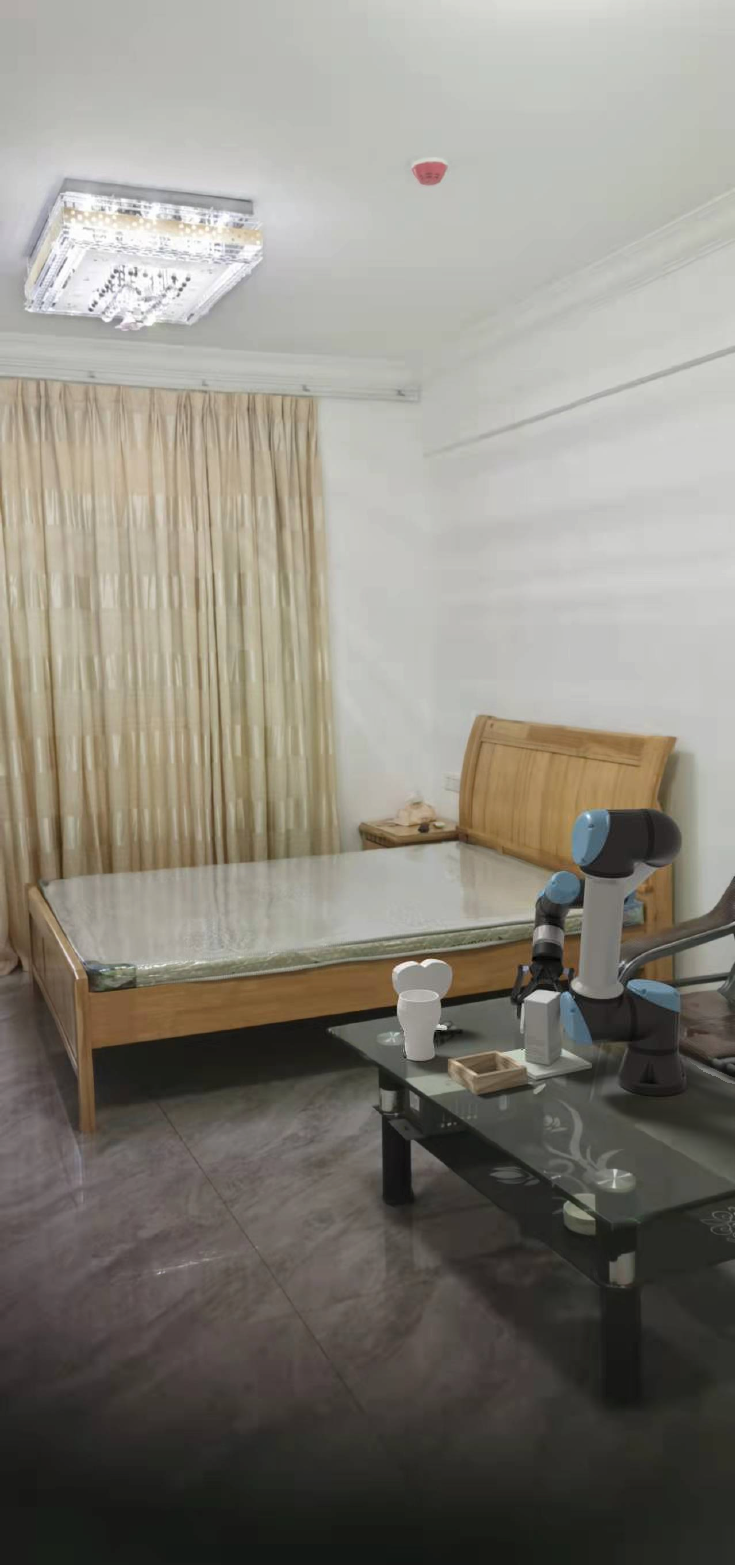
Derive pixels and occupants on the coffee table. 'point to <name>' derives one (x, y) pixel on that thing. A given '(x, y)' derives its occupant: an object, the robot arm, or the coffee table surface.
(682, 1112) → the coffee table surface
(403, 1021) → the cup
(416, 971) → the heart sculpture
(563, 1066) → the board
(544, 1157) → the coffee table surface
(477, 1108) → the coffee table surface
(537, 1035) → the skincare box
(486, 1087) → the caddy
